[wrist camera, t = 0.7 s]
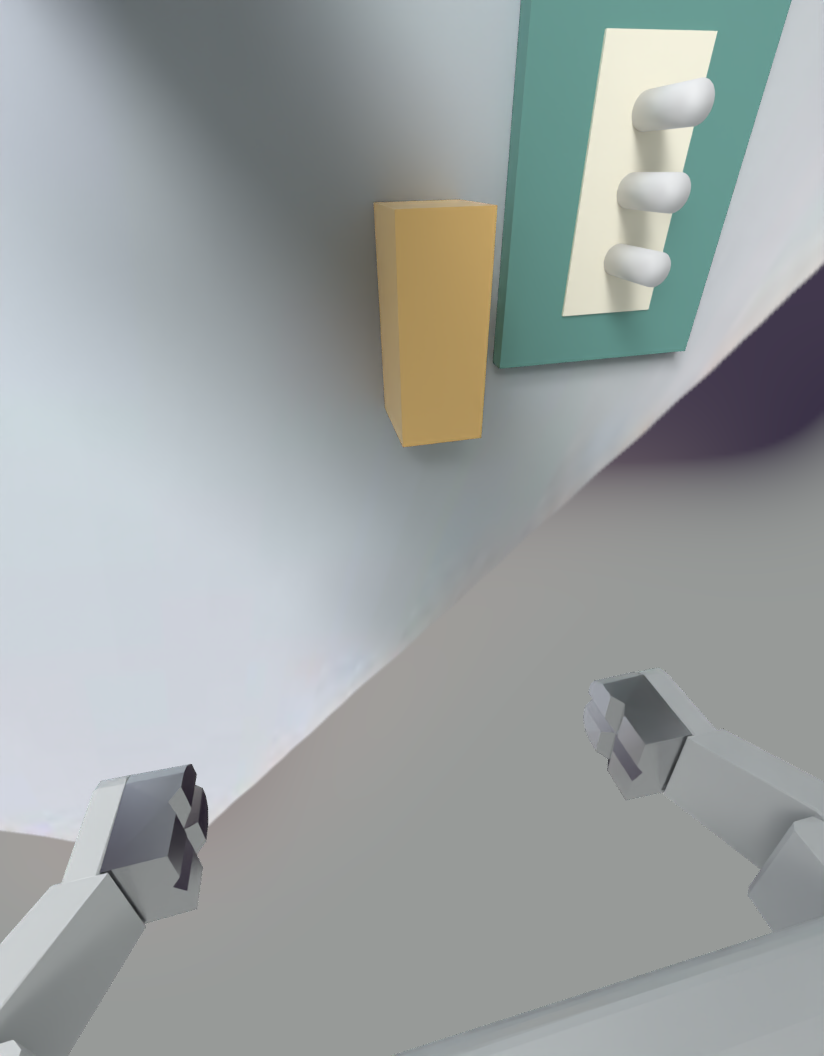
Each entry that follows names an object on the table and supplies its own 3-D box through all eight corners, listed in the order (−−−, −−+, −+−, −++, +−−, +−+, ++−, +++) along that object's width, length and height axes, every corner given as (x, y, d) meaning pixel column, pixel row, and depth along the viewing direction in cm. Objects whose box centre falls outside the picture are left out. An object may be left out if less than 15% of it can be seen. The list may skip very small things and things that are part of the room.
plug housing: (373, 202, 31) (394, 209, 25) (459, 199, 32) (497, 205, 26) (384, 407, 39) (402, 447, 33) (452, 400, 40) (481, 437, 34)
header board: (525, -62, 26) (584, -116, 21) (786, -47, 28) (893, -92, 23) (492, 362, 39) (524, 390, 34) (673, 345, 41) (726, 369, 36)
